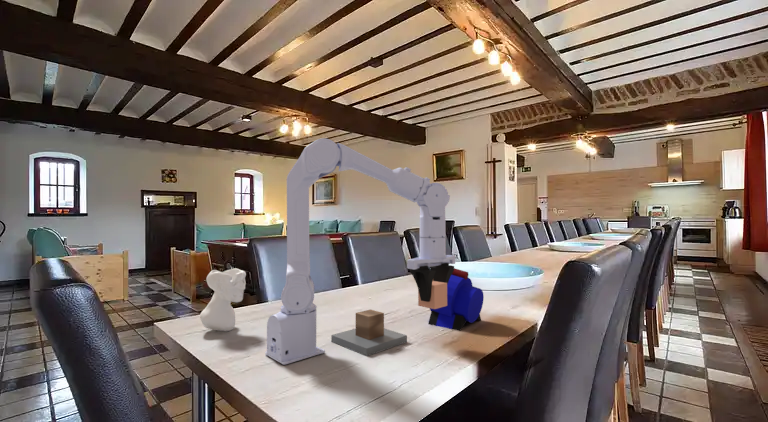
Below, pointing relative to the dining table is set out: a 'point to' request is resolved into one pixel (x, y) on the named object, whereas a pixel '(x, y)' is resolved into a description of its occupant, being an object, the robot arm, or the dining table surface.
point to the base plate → (368, 341)
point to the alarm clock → (458, 303)
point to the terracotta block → (435, 296)
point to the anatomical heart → (223, 299)
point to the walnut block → (369, 324)
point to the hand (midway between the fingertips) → (432, 299)
